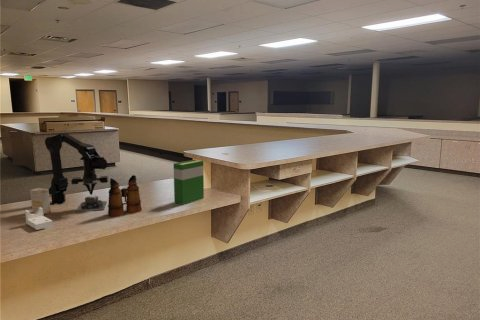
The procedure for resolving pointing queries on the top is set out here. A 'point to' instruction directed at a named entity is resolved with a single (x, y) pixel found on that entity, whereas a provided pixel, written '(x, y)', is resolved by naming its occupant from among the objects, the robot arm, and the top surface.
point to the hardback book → (188, 181)
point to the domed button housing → (91, 200)
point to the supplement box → (40, 200)
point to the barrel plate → (92, 206)
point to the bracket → (38, 220)
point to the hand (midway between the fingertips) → (91, 194)
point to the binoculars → (132, 198)
